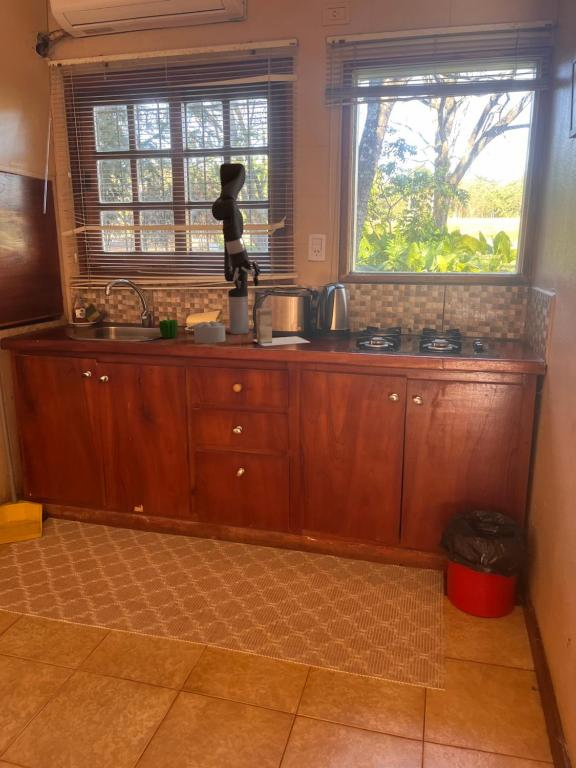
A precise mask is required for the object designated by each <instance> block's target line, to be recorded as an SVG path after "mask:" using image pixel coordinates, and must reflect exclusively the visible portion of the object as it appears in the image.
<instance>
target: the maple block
mask: <svg viewBox="0 0 576 768" xmlns="http://www.w3.org/2000/svg"><path fill="white" fill-rule="evenodd" d="M255 311H256V313H255V314H256V339H257V342H259V343H261V344H263V343H272V338H273V329H272V328H273V326H272V325H273V322H272V321H273V319H272V317H273V316H272V309H271V308H268V307H267V308H266V307H265V308H256V310H255ZM257 342H256V343H257ZM259 343H258V344H259ZM261 344H260V345H261Z"/></svg>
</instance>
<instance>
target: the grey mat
mask: <svg viewBox="0 0 576 768" xmlns="http://www.w3.org/2000/svg"><path fill="white" fill-rule="evenodd" d="M252 341H254V342H256V343H257V344H259V345H260V346H263V347H268V346H280V345H281V346H283V345H295V344H306V343H308V344H309V343H310V341H308V340H306V339H305V338H302V337H300V336H295V335H294V336H286V337H285V336H284V337H272V343H263V344H261V343H259V342H257V338H256V339H252Z"/></svg>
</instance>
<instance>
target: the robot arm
mask: <svg viewBox="0 0 576 768" xmlns="http://www.w3.org/2000/svg"><path fill="white" fill-rule="evenodd" d="M246 174H247V173H246V168H245V166H244V164H242V163H238V162H237V163H235V162H234V163H232V162H231V163H228V162H227V163H226V162H225V163H221V164H220V167H219V178H220V179H219V180H220V181H219V182H220V194H219V197H217V199H216V200H215V201H214V202H213V203H212V206H211V215H212V217H213V218H214V219H215V220H216V221H219V222H221V221H222V234H223V244H224V245H223V247H224V249H223V251H224V252H223V253H224V255H223V257H224V259H223V265H224V266H223V273H224V279H225V282H228V283H230V282H231V283H234V285H235V288H234V287H233V288H232V289H229V290H228V292H227V293H228V294H227V295H228V299H227V300H228V320H229V322H228V323H229V333H230V334H233V335H241V334H242V335H243V334H248V333H250V319H249V295H248V294H249V293H248V292H249V289H248V288H249V287H248V284H249V283H248V278H249V276H251V277H252V280H253V284H254V287H258V286H259V284H260V281H259V276H260V275H261V273H262V272H261V270H260V267H259V263H258V261H257V260H256V259H255V260H254V261H252V262H251V261H250V259H249V258H250V257H249V255H248V250H247V247H246V244H245V241H244V239H243V234H244V217H243V214H242V212H241V210H240V209H239V205H238V204H237V199H238V195H239V193H240V192H241V190H242V189H243V187H244V185H245V183H246V178H247V177H246V176H247V175H246Z"/></svg>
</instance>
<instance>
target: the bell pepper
mask: <svg viewBox="0 0 576 768" xmlns="http://www.w3.org/2000/svg"><path fill="white" fill-rule="evenodd" d="M166 318H167V319H163V320H160V321H159V322H158V326H159V327H158V328H159V331H160V334H161V337H162V338H163V339H174V338H176V337H177V335H178V330H179V322H178V320H176V319H170V315H166Z"/></svg>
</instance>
